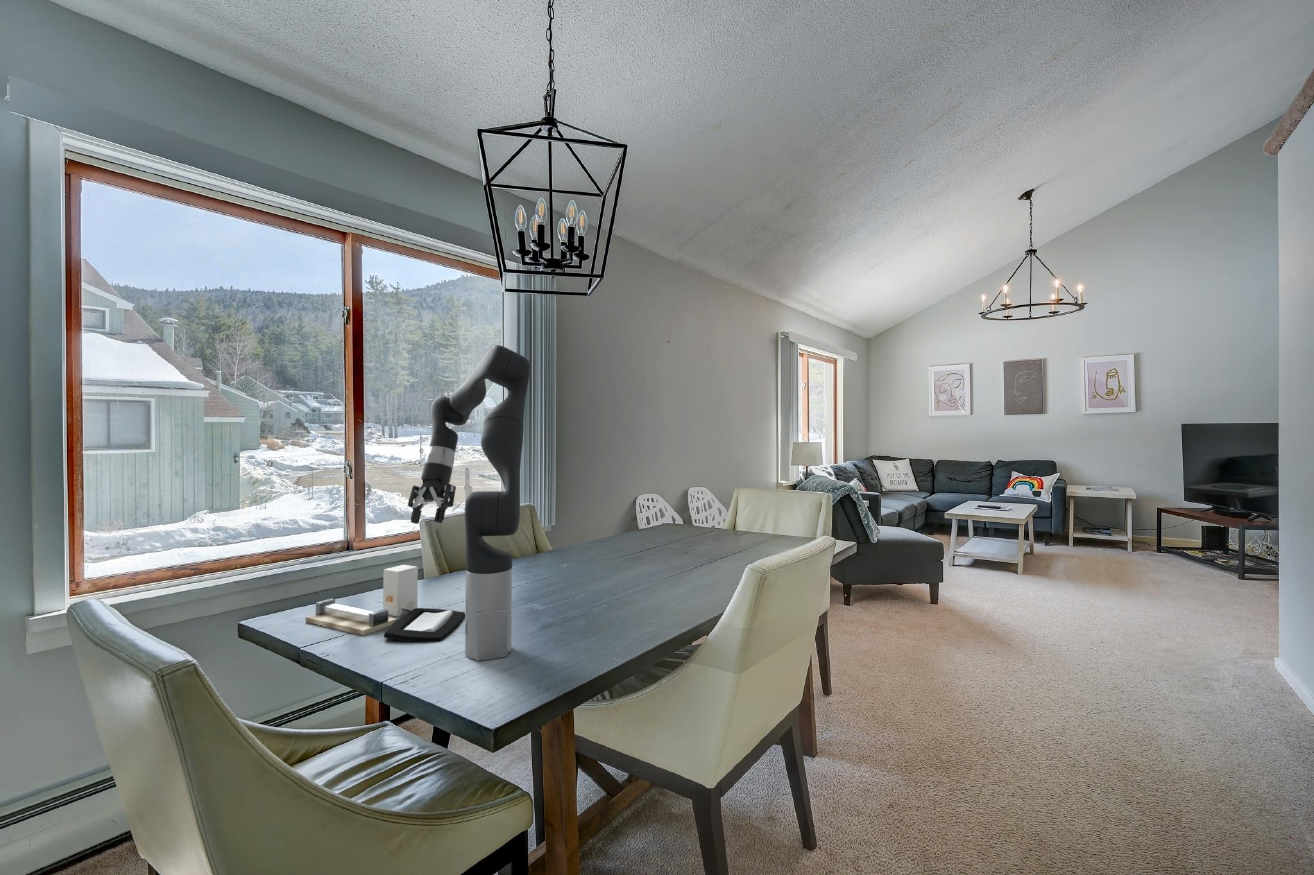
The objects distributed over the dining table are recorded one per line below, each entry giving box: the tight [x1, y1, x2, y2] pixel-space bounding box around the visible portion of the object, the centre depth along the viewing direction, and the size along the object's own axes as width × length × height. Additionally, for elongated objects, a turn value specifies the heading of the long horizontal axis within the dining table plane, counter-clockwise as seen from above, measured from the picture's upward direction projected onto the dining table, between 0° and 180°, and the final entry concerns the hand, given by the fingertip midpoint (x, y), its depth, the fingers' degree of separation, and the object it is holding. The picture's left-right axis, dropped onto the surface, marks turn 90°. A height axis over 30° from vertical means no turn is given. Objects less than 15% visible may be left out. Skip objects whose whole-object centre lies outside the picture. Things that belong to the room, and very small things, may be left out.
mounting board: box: [305, 613, 398, 637], centre depth 136 cm, size 20×9×1 cm, turn 65°
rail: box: [315, 598, 389, 627], centre depth 136 cm, size 20×4×3 cm, turn 65°
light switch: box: [383, 607, 465, 643], centre depth 134 cm, size 20×3×14 cm
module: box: [382, 564, 419, 617], centre depth 145 cm, size 5×7×11 cm
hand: (426, 523), depth 154 cm, fingers open, 8 cm apart
